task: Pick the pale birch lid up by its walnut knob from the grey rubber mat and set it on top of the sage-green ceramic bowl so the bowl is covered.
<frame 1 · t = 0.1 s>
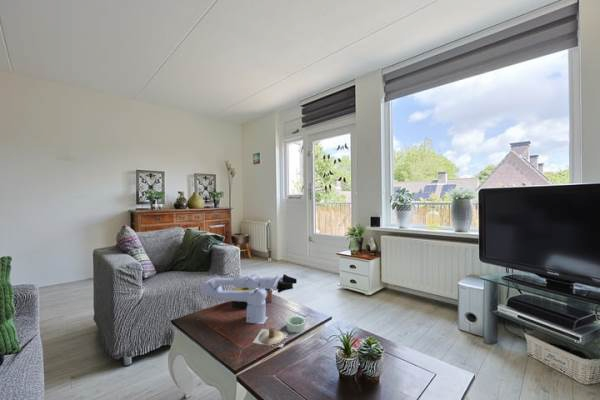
hand: (294, 283, 134), 22 cm above the table, tool horizontal, fingers open, 7 cm apart
mat: (271, 338, 124), on the table
lid: (271, 337, 124), resting on mat
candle: (244, 305, 158), on the table
lighter: (265, 302, 162), on the table
bowl: (296, 328, 132), on the table
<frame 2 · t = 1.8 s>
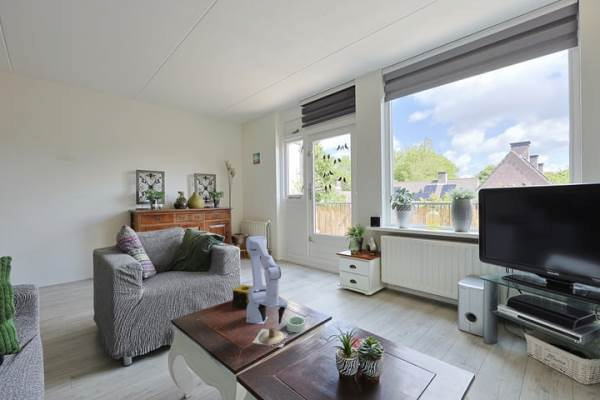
hand: (272, 321, 123), 8 cm above the table, tool pointing down, fingers open, 7 cm apart
nothing on the table moved.
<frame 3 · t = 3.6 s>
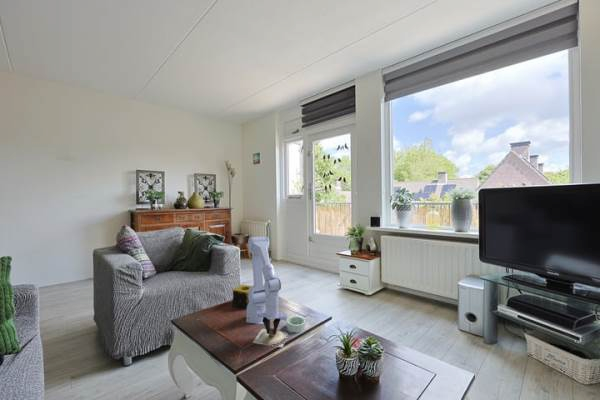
hand: (271, 333, 123), 2 cm above the table, tool pointing down, fingers closed on lid, 3 cm apart
lid: (271, 337, 124), resting on mat, touching gripper
everything else where it was.
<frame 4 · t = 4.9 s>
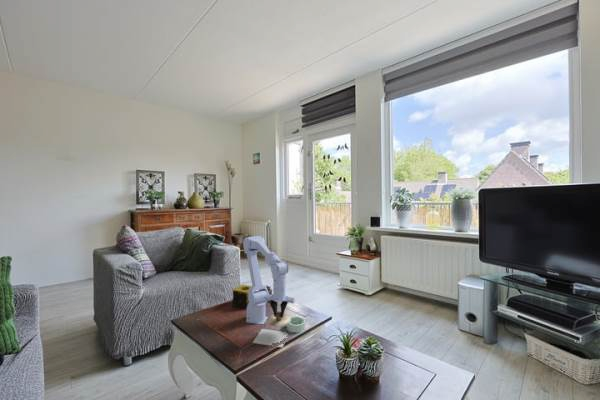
hand: (278, 316, 125), 9 cm above the table, tool pointing down, fingers closed on lid, 3 cm apart
lid: (278, 320, 125), point 7 cm above the table, touching gripper
everything else where it was.
when the fingers open (7 cm above the table, at t = 6.6 s): lid stays where it is, resting on bowl.
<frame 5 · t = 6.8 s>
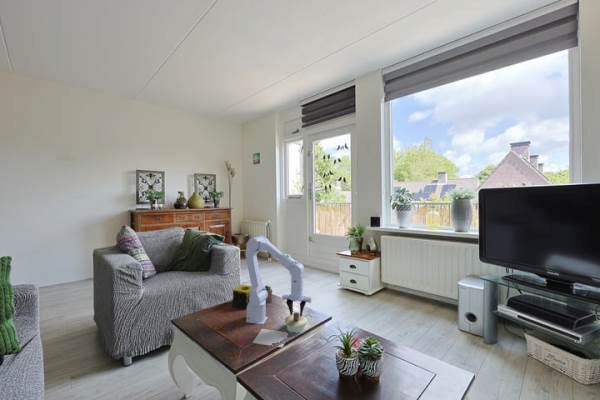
hand: (296, 314, 132), 7 cm above the table, tool pointing down, fingers open, 4 cm apart
lid: (296, 321, 132), point 4 cm above the table, touching bowl
everything else where it was.
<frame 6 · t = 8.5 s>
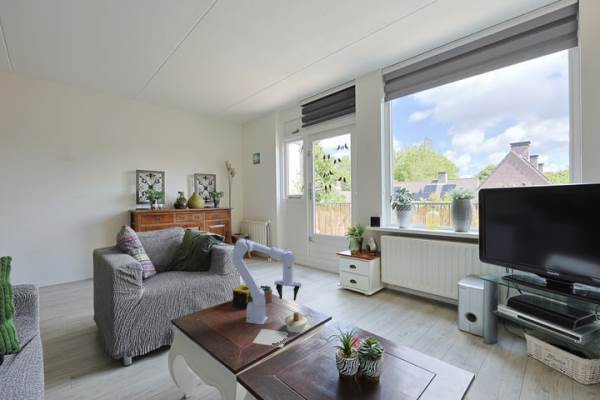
hand: (287, 299, 142), 10 cm above the table, tool pointing down, fingers open, 7 cm apart
nothing on the table moved.
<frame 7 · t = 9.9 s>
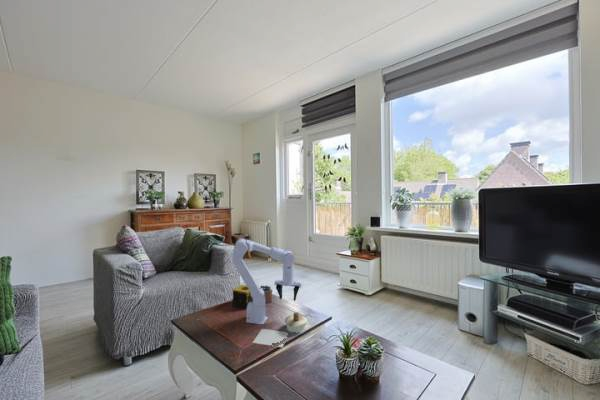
hand: (287, 299, 142), 10 cm above the table, tool pointing down, fingers open, 7 cm apart
nothing on the table moved.
at the end: lid 0.4 cm off-centre on the bowl, point 4.0 cm above the bowl's base; lid tilted 0°; the gripper is holding nothing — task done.
